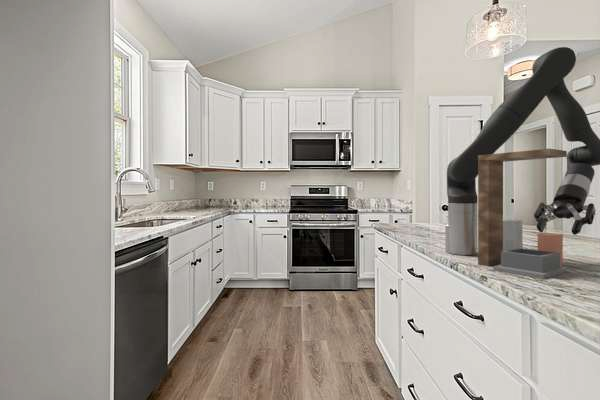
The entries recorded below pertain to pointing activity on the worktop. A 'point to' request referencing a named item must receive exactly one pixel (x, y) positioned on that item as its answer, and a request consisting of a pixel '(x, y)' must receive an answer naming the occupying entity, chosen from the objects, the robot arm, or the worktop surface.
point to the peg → (551, 243)
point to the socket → (530, 263)
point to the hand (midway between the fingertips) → (556, 231)
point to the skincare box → (512, 234)
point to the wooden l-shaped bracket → (497, 199)
